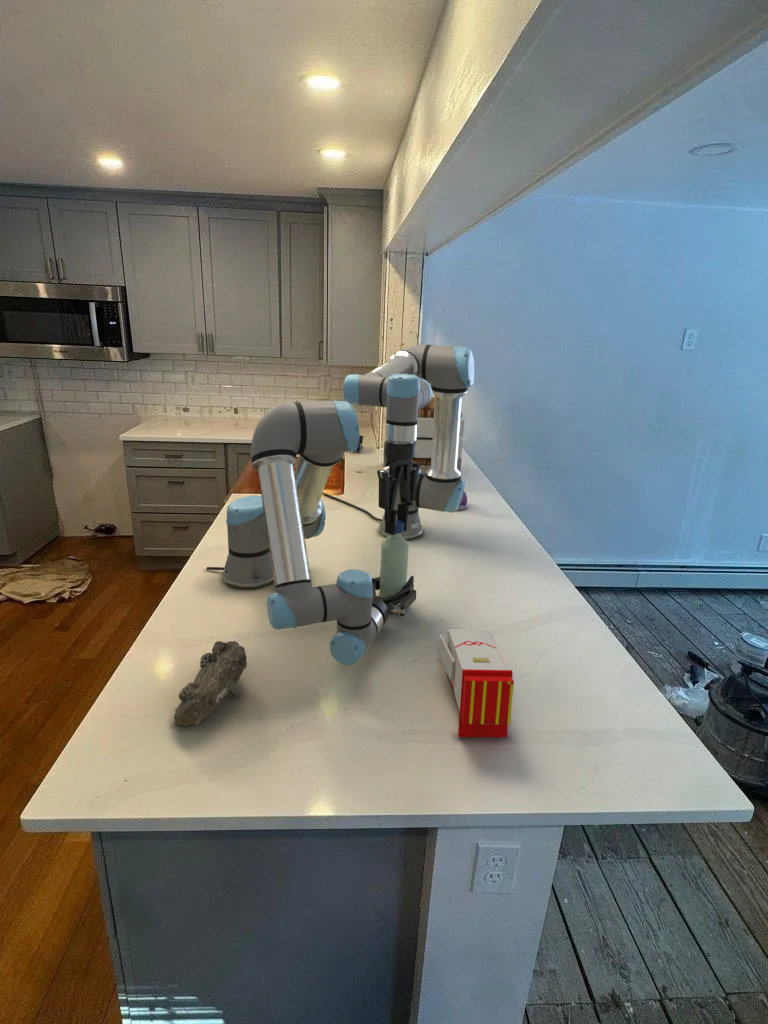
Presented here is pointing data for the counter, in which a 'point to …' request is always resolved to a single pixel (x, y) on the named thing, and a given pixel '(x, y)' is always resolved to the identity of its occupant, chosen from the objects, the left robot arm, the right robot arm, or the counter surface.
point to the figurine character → (360, 444)
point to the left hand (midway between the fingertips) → (398, 577)
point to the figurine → (463, 499)
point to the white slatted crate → (429, 436)
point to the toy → (478, 682)
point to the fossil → (211, 682)
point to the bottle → (393, 565)
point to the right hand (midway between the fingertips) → (395, 531)
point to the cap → (399, 526)
